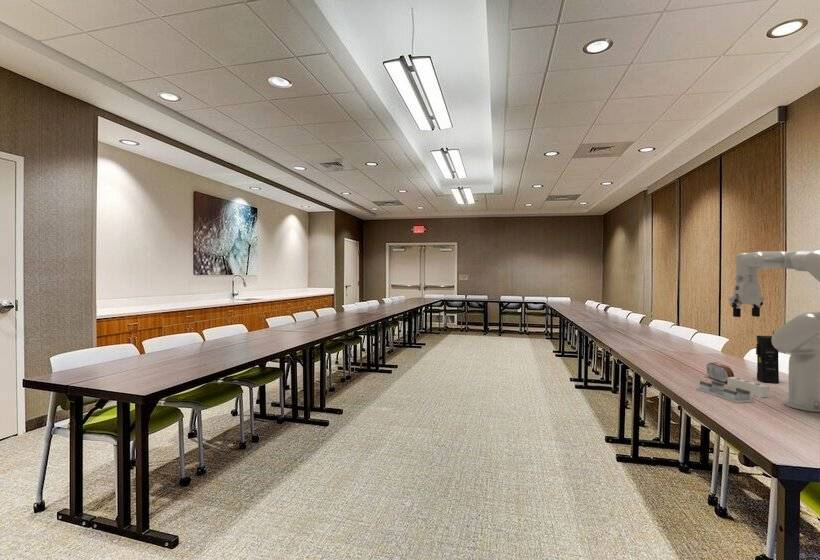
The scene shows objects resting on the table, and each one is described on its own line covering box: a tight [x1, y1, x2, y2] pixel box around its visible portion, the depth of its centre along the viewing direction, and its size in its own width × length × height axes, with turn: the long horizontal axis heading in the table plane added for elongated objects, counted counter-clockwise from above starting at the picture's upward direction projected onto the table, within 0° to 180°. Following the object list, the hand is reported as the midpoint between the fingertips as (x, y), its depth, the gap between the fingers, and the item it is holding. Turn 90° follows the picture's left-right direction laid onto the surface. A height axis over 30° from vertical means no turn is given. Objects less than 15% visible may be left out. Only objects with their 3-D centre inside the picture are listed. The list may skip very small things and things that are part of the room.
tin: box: [706, 362, 735, 384], centre depth 196 cm, size 15×3×8 cm, turn 179°
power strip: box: [726, 376, 770, 398], centre depth 177 cm, size 16×4×5 cm, turn 7°
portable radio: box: [755, 330, 780, 384], centre depth 194 cm, size 8×6×25 cm
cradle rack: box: [695, 380, 755, 404], centre depth 172 cm, size 20×8×4 cm, turn 7°
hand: (746, 316), depth 180 cm, fingers open, 9 cm apart
